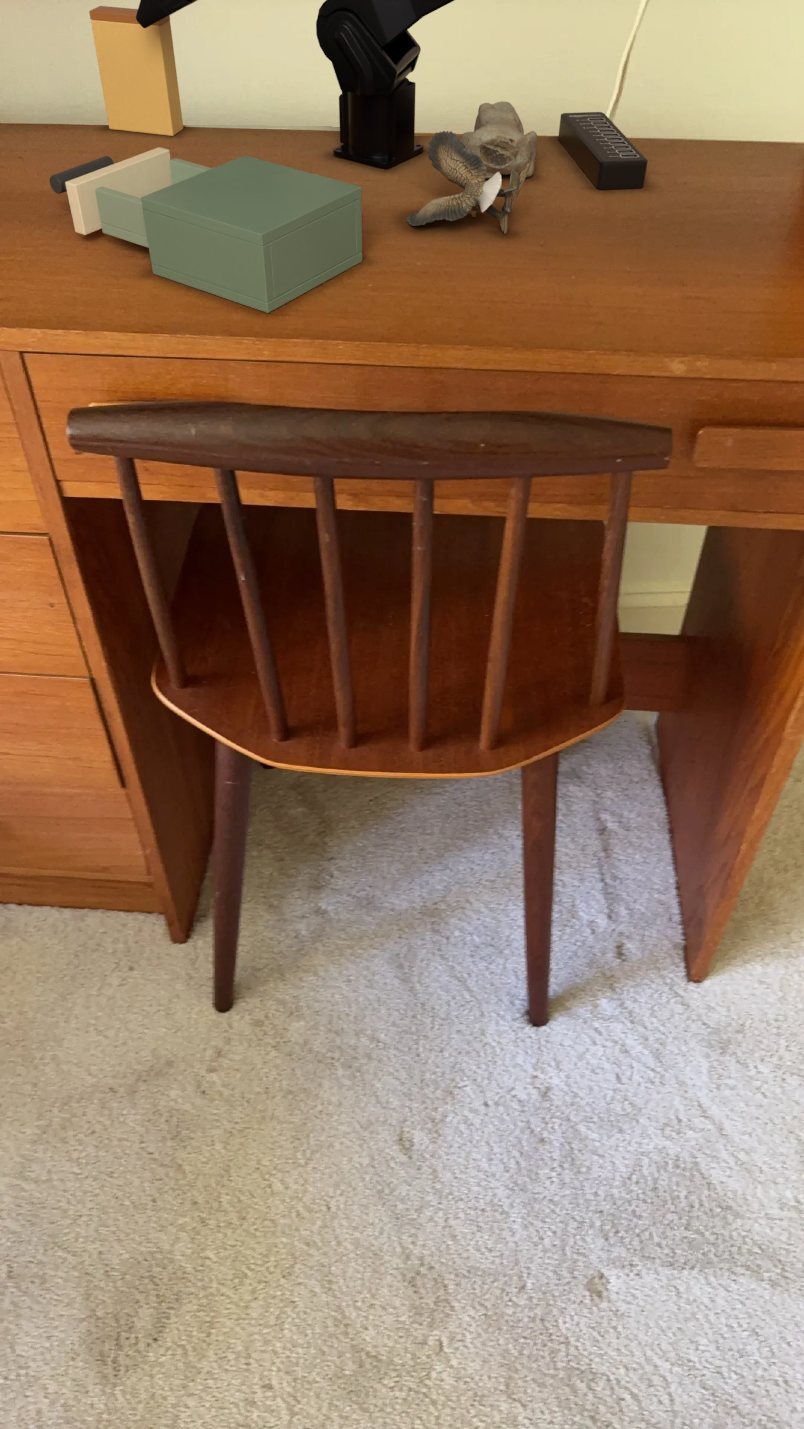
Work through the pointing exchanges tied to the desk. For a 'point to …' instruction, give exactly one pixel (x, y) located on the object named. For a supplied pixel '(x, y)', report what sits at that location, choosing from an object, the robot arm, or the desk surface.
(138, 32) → the tan flat block
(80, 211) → the drawer
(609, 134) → the multiport hub
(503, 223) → the eagle figurine
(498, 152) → the sculpture
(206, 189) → the cabinet
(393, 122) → the robot arm
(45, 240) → the desk surface
